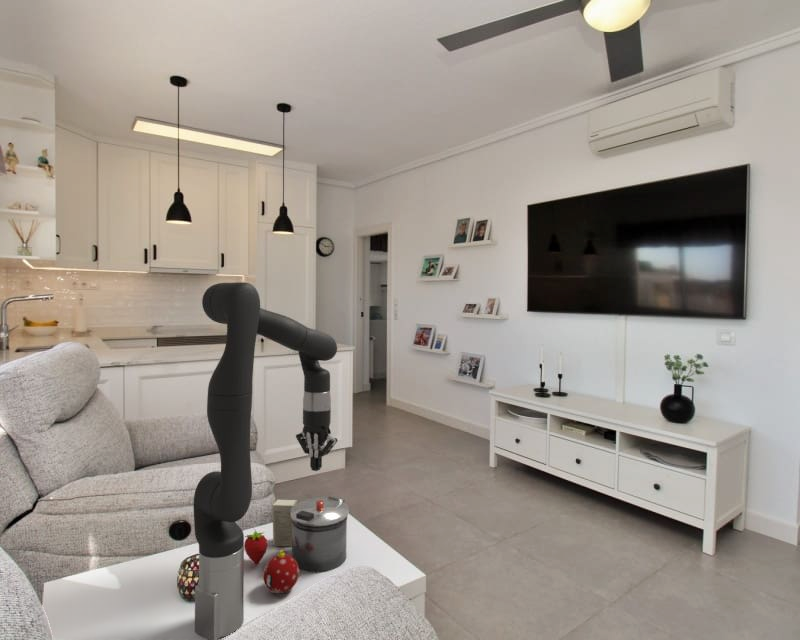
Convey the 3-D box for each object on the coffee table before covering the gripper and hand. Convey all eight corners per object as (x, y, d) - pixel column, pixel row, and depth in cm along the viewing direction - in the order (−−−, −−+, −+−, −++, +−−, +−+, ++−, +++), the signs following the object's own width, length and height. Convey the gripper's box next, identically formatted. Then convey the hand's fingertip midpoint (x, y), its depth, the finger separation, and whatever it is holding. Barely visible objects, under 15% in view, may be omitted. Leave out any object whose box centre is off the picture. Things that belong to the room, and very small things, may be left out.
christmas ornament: (306, 587, 119) (306, 548, 119) (280, 605, 112) (280, 563, 112) (281, 576, 124) (282, 538, 124) (255, 593, 117) (255, 553, 116)
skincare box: (297, 539, 144) (298, 499, 143) (293, 547, 139) (293, 505, 139) (277, 538, 144) (277, 498, 144) (271, 545, 140) (272, 504, 140)
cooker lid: (326, 532, 123) (326, 519, 122) (278, 519, 130) (278, 506, 130) (360, 508, 138) (360, 496, 137) (315, 497, 145) (315, 486, 145)
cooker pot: (325, 578, 123) (326, 532, 123) (279, 563, 130) (279, 520, 130) (357, 551, 137) (357, 510, 137) (314, 539, 144) (314, 500, 144)
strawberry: (248, 574, 125) (248, 536, 125) (241, 561, 131) (241, 525, 131) (271, 567, 128) (271, 531, 128) (262, 555, 135) (262, 520, 134)
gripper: (288, 407, 131) (288, 470, 131) (328, 412, 125) (327, 478, 125) (306, 402, 137) (305, 462, 138) (344, 407, 131) (343, 470, 132)
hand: (316, 469), depth 131 cm, fingers closed
